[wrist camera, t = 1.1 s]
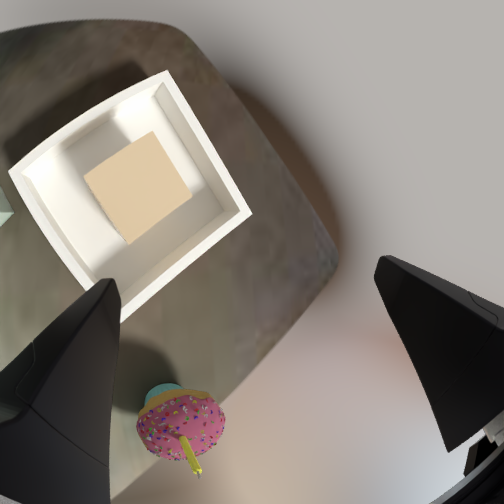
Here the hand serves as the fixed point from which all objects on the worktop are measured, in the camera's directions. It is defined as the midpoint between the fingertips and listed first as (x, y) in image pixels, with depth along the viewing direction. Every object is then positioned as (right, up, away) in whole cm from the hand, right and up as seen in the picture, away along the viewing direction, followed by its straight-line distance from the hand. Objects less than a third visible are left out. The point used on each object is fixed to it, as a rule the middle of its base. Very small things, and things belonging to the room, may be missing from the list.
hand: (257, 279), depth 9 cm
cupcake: (-9, -15, +16) cm, 23 cm away
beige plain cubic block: (-10, +6, +11) cm, 16 cm away
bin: (-10, +6, +12) cm, 17 cm away
